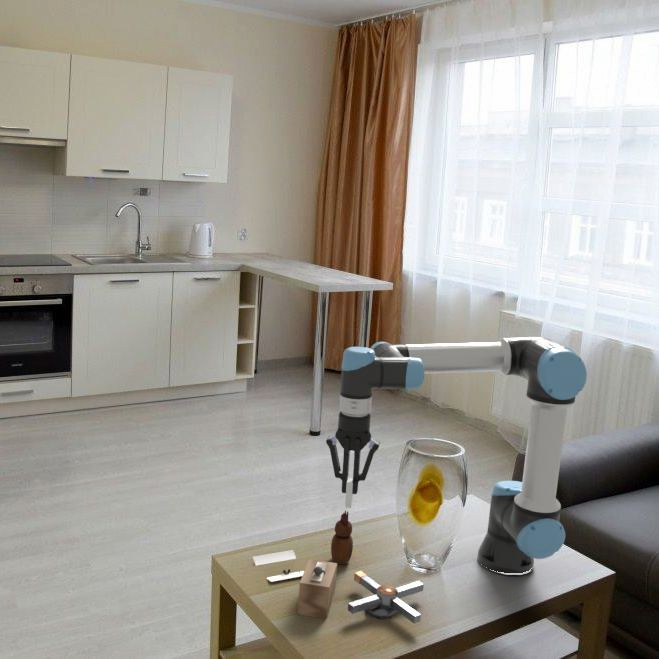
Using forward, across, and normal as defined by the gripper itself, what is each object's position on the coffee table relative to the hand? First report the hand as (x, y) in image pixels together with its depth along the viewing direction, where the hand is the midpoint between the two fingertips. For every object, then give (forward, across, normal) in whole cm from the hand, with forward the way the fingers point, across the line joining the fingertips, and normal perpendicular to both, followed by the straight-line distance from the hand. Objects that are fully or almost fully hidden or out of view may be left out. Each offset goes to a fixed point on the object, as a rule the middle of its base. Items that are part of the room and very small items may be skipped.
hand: (348, 505), depth 198 cm
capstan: (+23, +11, -5) cm, 26 cm away
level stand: (+23, -6, -7) cm, 25 cm away
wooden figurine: (+23, -3, +16) cm, 28 cm away
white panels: (+23, -17, +7) cm, 30 cm away
